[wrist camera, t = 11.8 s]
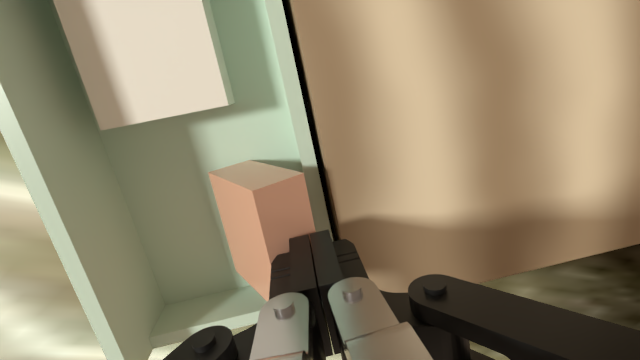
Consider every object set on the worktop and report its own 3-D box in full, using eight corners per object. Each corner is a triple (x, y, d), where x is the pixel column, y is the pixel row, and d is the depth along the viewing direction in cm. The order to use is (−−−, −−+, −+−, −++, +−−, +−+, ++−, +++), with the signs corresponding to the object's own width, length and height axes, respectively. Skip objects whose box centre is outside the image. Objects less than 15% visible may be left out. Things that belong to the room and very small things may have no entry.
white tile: (49, -11, 12) (80, 2, 14) (100, 130, 14) (122, 124, 16) (192, -37, 13) (204, -21, 14) (228, 105, 14) (235, 102, 16)
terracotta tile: (303, 172, 12) (252, 191, 12) (328, 293, 14) (284, 319, 13) (249, 159, 17) (207, 172, 16) (272, 254, 18) (236, 270, 17)
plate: (586, -127, 15) (687, -197, 12) (583, 209, 20) (656, 239, 16) (271, -66, 15) (268, -117, 11) (342, 267, 19) (356, 313, 15)
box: (264, -65, 15) (256, -135, 10) (336, 268, 19) (354, 330, 14) (32, -19, 14) (-93, -70, 10) (161, 310, 19) (120, 388, 14)
